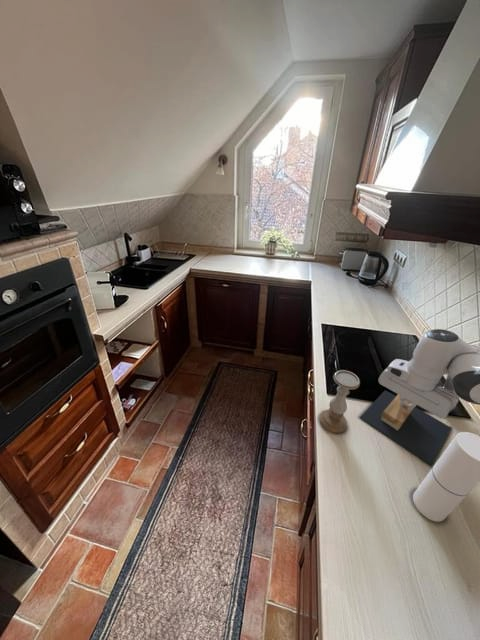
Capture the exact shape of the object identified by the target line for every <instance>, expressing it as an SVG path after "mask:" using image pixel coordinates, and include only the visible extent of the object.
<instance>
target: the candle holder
mask: <svg viewBox="0 0 480 640" xmlns="http://www.w3.org/2000/svg"><path fill="white" fill-rule="evenodd" d="M332 378H333V382H334V383H335V384H336V385H338V386H337V387H336V395H335V396H334V397H333V398H332V399H330V401H329V404H328V405H329V407H328V409H325V410H323V411H321V413H320V415H319V421H320V424H321V425H322V427H323V428H324V429H325V430H327V431H328V432H331V433H332V434H333V433H334V434H340V433H344V432H345V431H346V430H347V427H348V421H347V419H346V418H345V413H346V412H347V410H348V404H347V401H346V400H347V396H348V395H350V390H357V389H358V388H359V387H360V385H361V380H360V378H359V377H358V375H356V374H355V373H354V372H352V371H350V370H345V369H339V370H337V371H336V372H334V374H333V377H332Z"/></svg>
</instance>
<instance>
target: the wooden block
mask: <svg viewBox="0 0 480 640" xmlns="http://www.w3.org/2000/svg"><path fill="white" fill-rule="evenodd" d="M395 396H396V397H395V398H394V400H393V401H392V402H391V403H390V404H389V405H388V407H387V408H386V409H385V410H384V411H383V414H382V418H381V420H382V421H384V422H385V423H387V424H388V425H390V426H391V427H393V428H394V429H396V430H397V431H398V430H399V428H400V427H401V426H402V424H403V423H404V422H405V420H406V419H407V418H408V416H409V415H410V413H411V412H412V411H413V409H414V408H415V407H416V406H415V407H412V408H410V410H409V411H408V410H406V409H405V408H403V407H401V406H400V403H401V402H400V398H399V396H400V395H399V394H397V395H395ZM405 401H406V402H408V403H410V404H411V403H412V402H411V401H409V400H408V399H406V398H405Z"/></svg>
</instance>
